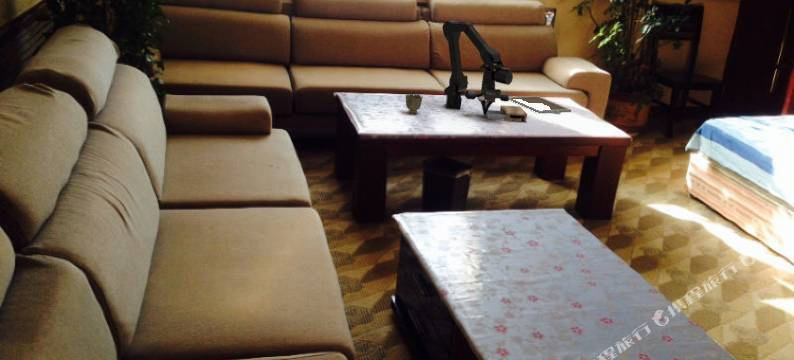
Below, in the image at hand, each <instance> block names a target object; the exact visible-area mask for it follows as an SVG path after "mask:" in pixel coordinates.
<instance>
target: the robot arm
mask: <svg viewBox="0 0 794 360" xmlns="http://www.w3.org/2000/svg"><path fill="white" fill-rule="evenodd" d="M441 28H442V33H443V36H444V37H445V40H446V41H447V45H448V52H449V53H448V54H449V63H450V72H451V73H450V76H449V80H448V86H446V87H445V88H444V90H443V92H444V94H443V95H445V96H446V98H445V103H444V106H445V108H446V109H451V110H453V109H454V110H461V108H462V101H463V98H462V95H464V97H465V98H466V99H467V100H475V99H476V98H477V100H478V102H480V104H481V108H482V114H483V115H484V116H486V113H487V111H488V110H490V106H491V105H492V104H494V103H496V99H500V101H501V102H509V97H510V96H509V94H508V93H507V92H504V91H503V92H502V89H499V88H497V89H496V83H498V84H502V85H507V86H509V85H511V83H512V82H513V79H514V76H513V72H512V68H506V67H505V65H504V63H503V60H502V58H501V57H502V56H501V53H500V52H499V51H498V50H496V49H495V48H494V47H492V46H490V45H489V44H488V43H487V41H485V39H484V37H482V36H481V34H480V33H479V32H478V31H477V29H476V27H475V26H474V24H473V23H471V22H460V21H458V20H448V21H445V22H444V23H443V24H442V27H441ZM462 33H463V34H465V36H466V37H467V38H468V39H469V40H470V42H471V43H472V44H473V46H474V47H475V48H476V49H477V50H478V53H479V56H480V59H481V61H482V63H483V64H482V65H480V66H479V69H481V70H483V73H482V80H481V89H480V92H476V91H475V90H471V89H469V90H467V89H468V85H469V80H468V77H469V76H468V75H465V74H464V72H463V68H462V59H461V50H460V49H461V47H460V38H461V35H462ZM464 93H465V94H464Z"/></svg>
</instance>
